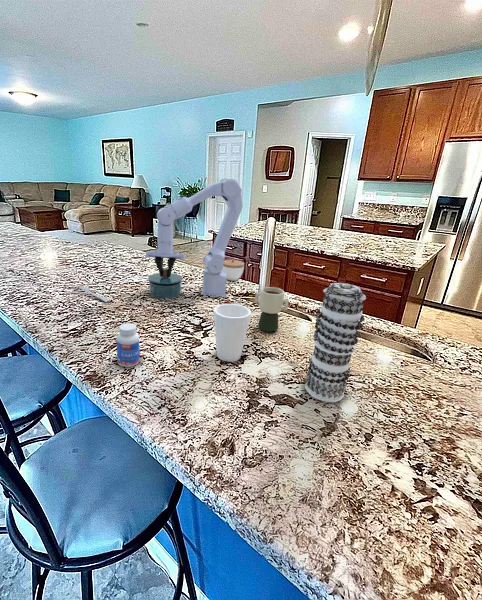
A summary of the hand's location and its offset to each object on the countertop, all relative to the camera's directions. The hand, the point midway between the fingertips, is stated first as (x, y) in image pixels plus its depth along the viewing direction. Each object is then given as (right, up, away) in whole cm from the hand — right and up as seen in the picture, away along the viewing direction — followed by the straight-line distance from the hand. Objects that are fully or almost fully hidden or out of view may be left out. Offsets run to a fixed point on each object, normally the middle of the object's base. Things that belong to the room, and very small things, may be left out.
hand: (165, 276), depth 125 cm
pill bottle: (-3, -25, -44) cm, 51 cm away
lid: (0, -1, 0) cm, 1 cm away
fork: (-28, -8, -2) cm, 29 cm away
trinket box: (+28, +1, +26) cm, 38 cm away
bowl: (0, -7, +3) cm, 7 cm away
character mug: (+35, -19, -23) cm, 46 cm away
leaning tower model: (+43, -30, -51) cm, 73 cm away
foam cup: (+22, -24, -39) cm, 51 cm away
